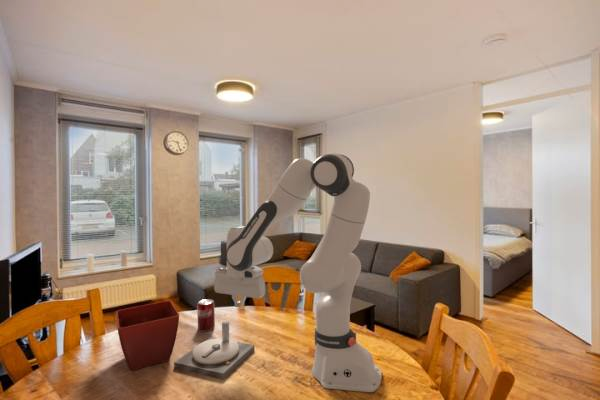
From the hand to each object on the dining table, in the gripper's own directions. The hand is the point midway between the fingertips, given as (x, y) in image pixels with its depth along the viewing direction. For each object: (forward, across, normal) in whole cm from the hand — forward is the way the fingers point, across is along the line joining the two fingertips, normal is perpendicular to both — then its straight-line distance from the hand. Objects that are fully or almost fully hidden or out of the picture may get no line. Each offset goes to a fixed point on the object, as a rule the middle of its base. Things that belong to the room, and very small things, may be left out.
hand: (239, 306), depth 115 cm
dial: (+15, -6, -6) cm, 17 cm away
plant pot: (+18, -30, -14) cm, 38 cm away
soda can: (+18, -26, +14) cm, 35 cm away
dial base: (+18, -6, -6) cm, 20 cm away
